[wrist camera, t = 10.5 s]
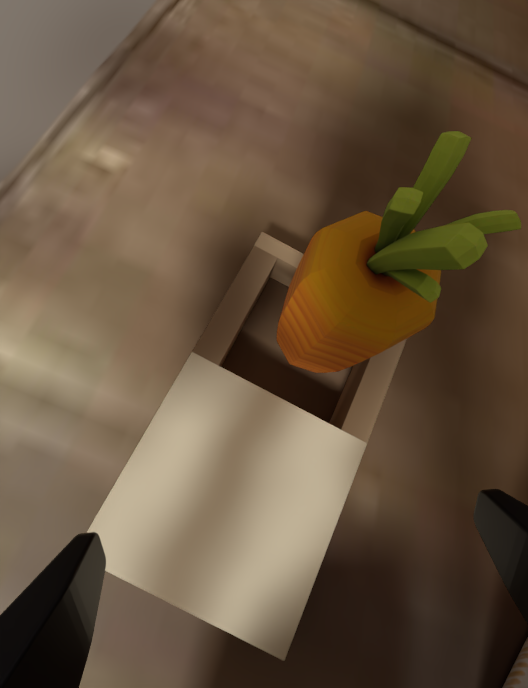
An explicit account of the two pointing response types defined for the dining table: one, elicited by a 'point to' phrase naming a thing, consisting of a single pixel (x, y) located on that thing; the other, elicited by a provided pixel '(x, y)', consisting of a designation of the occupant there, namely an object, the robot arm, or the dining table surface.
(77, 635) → the robot arm
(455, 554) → the dining table surface
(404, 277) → the carrot
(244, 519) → the open matchbox
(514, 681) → the decorative jar
